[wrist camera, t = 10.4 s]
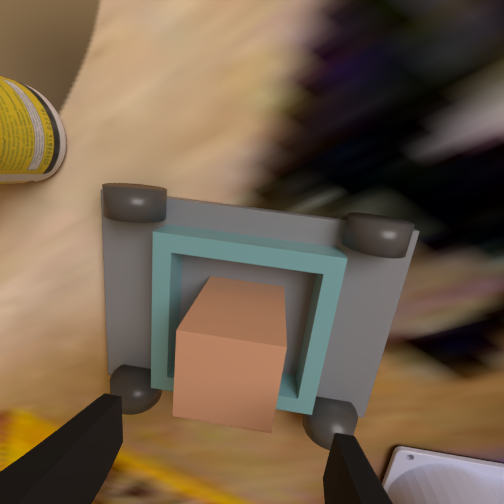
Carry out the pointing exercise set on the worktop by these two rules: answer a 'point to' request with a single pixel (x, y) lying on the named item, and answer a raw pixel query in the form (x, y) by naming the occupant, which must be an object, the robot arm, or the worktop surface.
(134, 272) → the chassis
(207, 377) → the block
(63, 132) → the supplement bottle
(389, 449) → the worktop surface
